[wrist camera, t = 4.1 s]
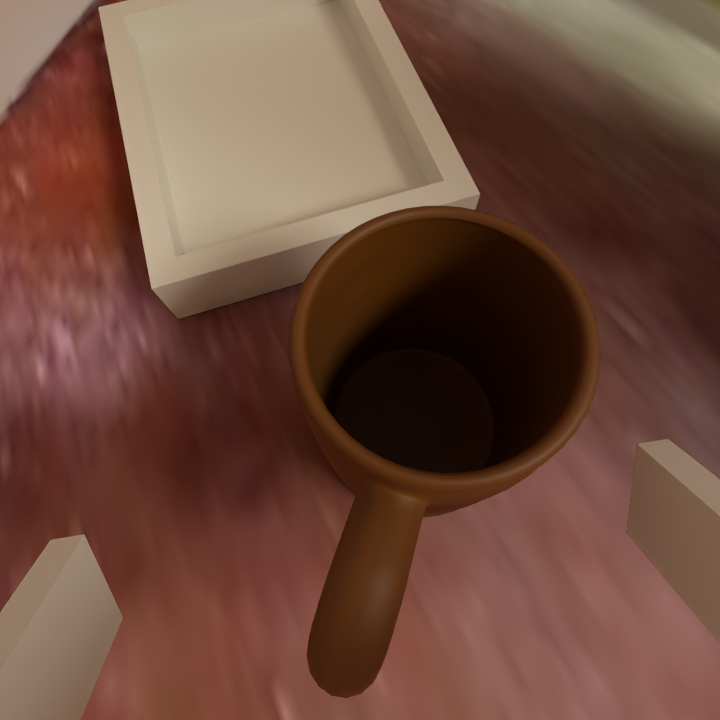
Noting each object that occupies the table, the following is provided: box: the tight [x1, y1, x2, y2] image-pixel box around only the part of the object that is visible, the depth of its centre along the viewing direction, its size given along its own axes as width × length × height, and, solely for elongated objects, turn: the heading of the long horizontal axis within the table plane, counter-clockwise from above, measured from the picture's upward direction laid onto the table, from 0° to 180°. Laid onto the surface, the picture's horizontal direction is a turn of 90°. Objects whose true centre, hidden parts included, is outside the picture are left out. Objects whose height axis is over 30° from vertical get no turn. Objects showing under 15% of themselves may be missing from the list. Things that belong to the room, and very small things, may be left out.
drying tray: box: [98, 0, 480, 319], centre depth 24 cm, size 14×18×3 cm
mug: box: [288, 206, 600, 698], centre depth 15 cm, size 12×8×9 cm, turn 161°
